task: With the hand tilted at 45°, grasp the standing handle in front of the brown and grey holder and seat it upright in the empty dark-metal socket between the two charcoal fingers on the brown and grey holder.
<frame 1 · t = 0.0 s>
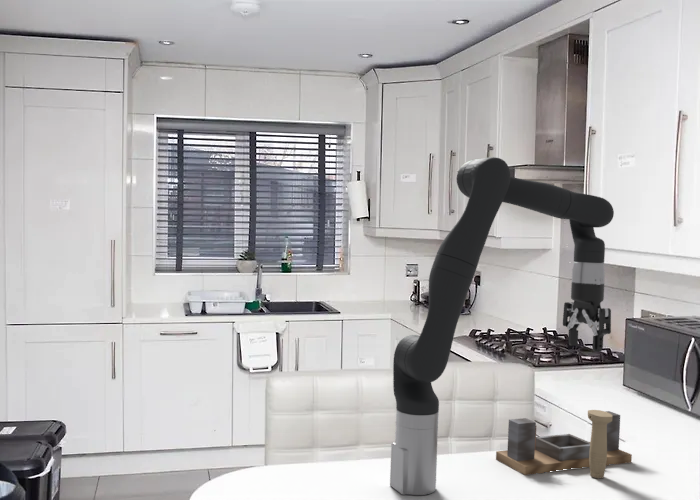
hand: (584, 348, 178), 29 cm above the counter, tool pointing down, fingers open, 8 cm apart
brown and grey holder: (563, 460, 184), on the counter
handle: (597, 477, 173), on the counter
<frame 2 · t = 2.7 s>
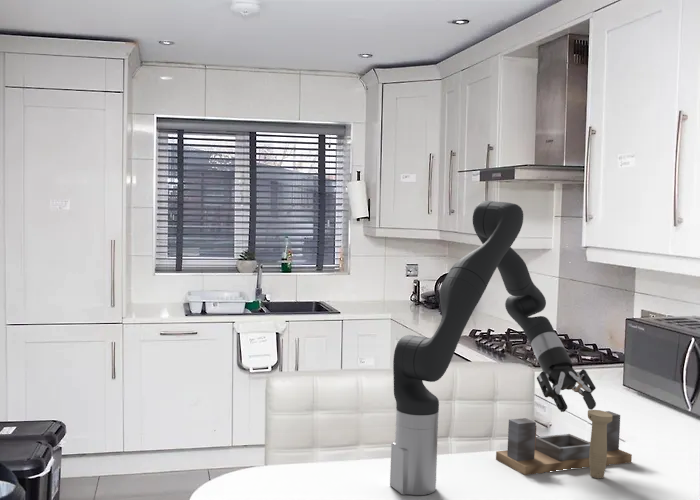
hand: (578, 409, 179), 14 cm above the counter, tool tilted 45°, fingers open, 8 cm apart
nothing on the counter moved.
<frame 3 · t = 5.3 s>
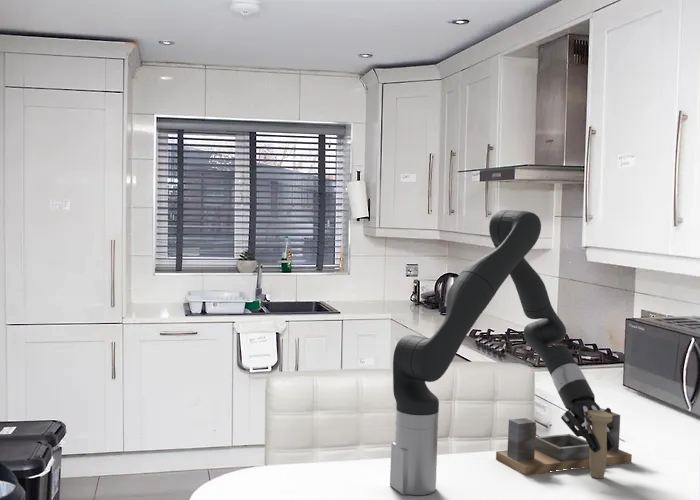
hand: (604, 449, 171), 7 cm above the counter, tool tilted 45°, fingers closed on handle, 3 cm apart
handle: (597, 477, 173), on the counter, touching gripper
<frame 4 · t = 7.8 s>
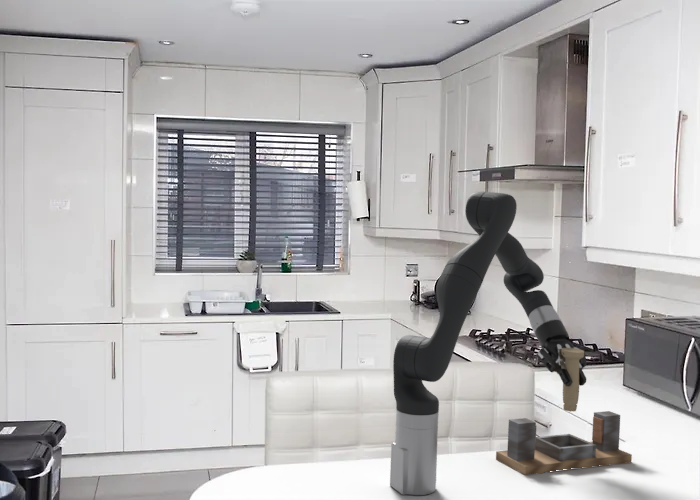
hand: (576, 383, 181), 20 cm above the counter, tool tilted 45°, fingers closed on handle, 3 cm apart
handle: (569, 411, 183), point 13 cm above the counter, touching gripper
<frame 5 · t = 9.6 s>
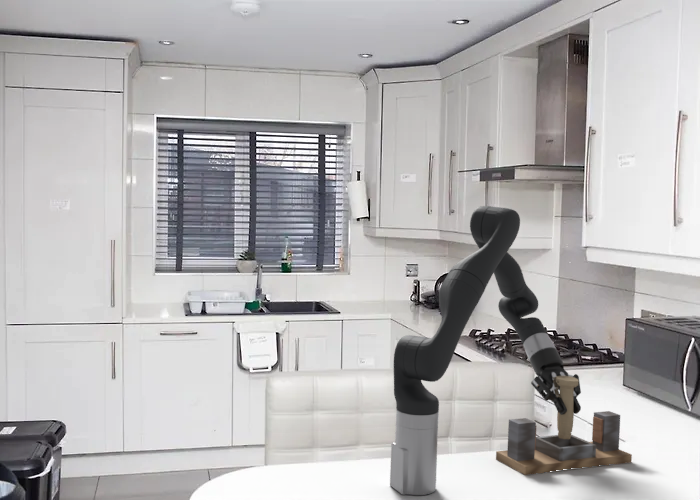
hand: (571, 412, 182), 13 cm above the counter, tool tilted 45°, fingers closed on handle, 3 cm apart
handle: (564, 438, 184), point 6 cm above the counter, touching gripper
when the fingers open (10 cm above the counter, at t = 10.5 s): handle drops 1 cm, resting on brown and grey holder.
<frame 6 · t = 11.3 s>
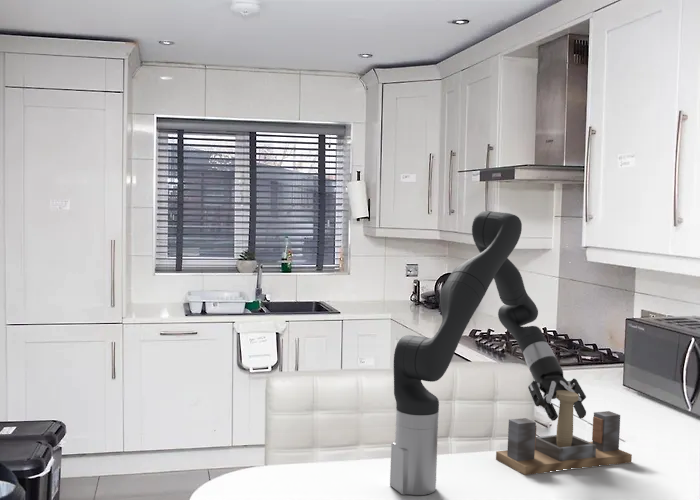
hand: (569, 417, 183), 11 cm above the counter, tool tilted 45°, fingers open, 8 cm apart
handle: (563, 453, 184), point 2 cm above the counter, touching brown and grey holder
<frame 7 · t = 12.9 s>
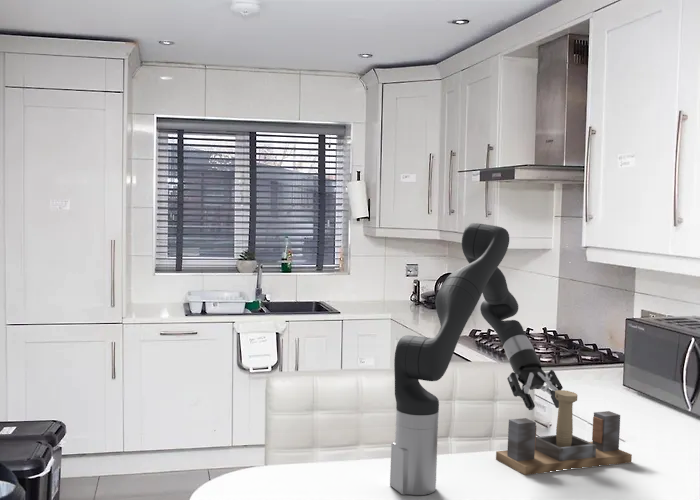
hand: (546, 407, 191), 11 cm above the counter, tool tilted 45°, fingers open, 8 cm apart
nothing on the counter moved.
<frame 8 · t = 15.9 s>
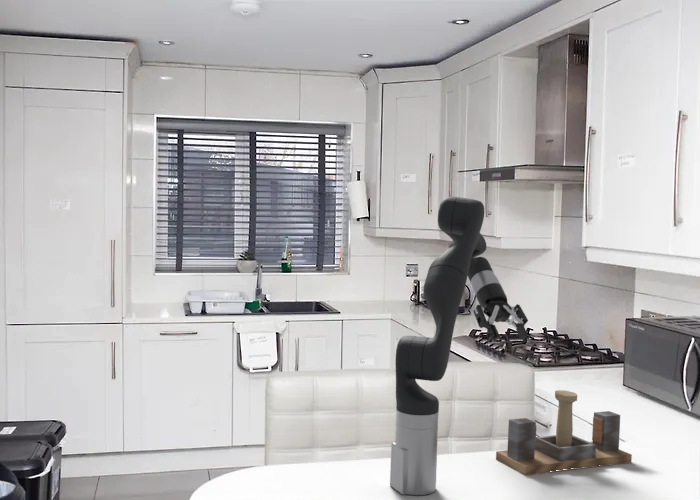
hand: (510, 338, 194), 29 cm above the counter, tool tilted 45°, fingers open, 8 cm apart
nothing on the counter moved.
at the end: handle 0.1 cm off-centre on the brown and grey holder, point 1.8 cm above the brown and grey holder's base; handle tilted 0°; the gripper is holding nothing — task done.
